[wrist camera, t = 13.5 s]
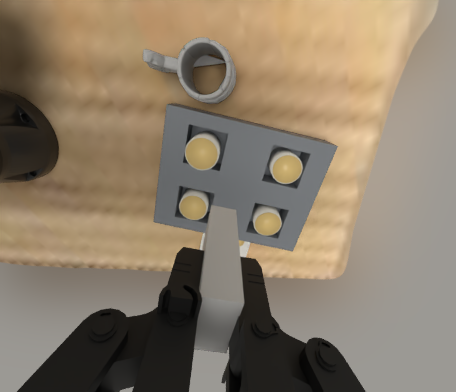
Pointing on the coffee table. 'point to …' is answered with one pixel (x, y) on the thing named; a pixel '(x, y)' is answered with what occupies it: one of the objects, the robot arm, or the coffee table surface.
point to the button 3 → (266, 219)
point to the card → (242, 245)
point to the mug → (192, 57)
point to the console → (239, 174)
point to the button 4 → (284, 165)
